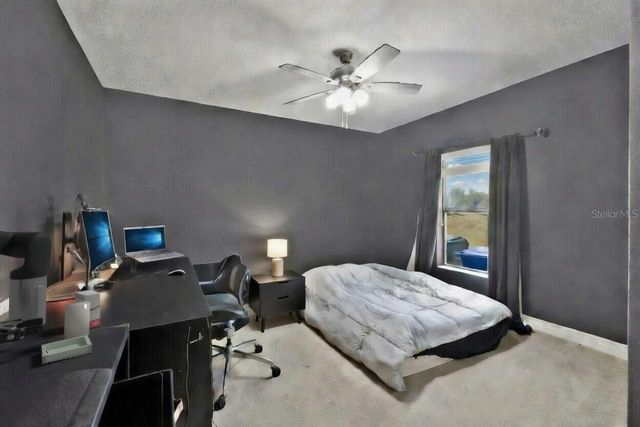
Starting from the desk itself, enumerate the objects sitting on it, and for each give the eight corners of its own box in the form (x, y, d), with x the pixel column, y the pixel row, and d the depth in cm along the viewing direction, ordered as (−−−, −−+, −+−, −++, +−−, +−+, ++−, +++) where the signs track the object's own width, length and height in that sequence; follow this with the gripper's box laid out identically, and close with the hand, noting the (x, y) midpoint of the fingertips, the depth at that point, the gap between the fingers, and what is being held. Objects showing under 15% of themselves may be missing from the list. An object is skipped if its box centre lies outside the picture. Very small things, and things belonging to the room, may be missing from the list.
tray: (41, 352, 80) (41, 344, 80) (87, 342, 87) (87, 334, 87) (42, 365, 73) (42, 356, 73) (91, 352, 80) (92, 344, 80)
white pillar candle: (62, 339, 89) (64, 304, 90) (87, 334, 93) (88, 300, 94) (64, 344, 85) (66, 307, 86) (90, 339, 89) (91, 303, 90)
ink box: (100, 325, 101) (101, 292, 101) (83, 330, 97) (84, 295, 97) (90, 321, 106) (91, 289, 106) (74, 325, 101) (74, 292, 102)
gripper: (-51, 333, 68) (44, 317, 79) (-40, 319, 78) (43, 306, 89) (-52, 365, 67) (43, 344, 79) (-41, 347, 77) (42, 330, 89)
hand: (43, 324), depth 84 cm, fingers open, 8 cm apart
